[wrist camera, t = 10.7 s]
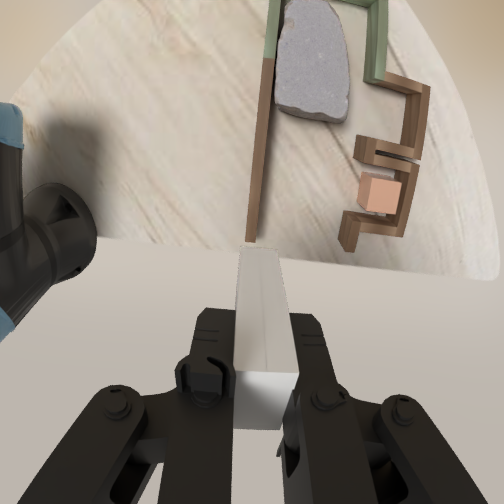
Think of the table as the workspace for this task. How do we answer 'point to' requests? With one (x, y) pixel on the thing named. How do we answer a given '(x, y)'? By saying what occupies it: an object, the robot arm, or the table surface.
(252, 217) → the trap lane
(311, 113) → the decorative stone
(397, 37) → the table surface
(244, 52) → the table surface
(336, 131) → the table surface
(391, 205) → the cube
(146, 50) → the table surface
